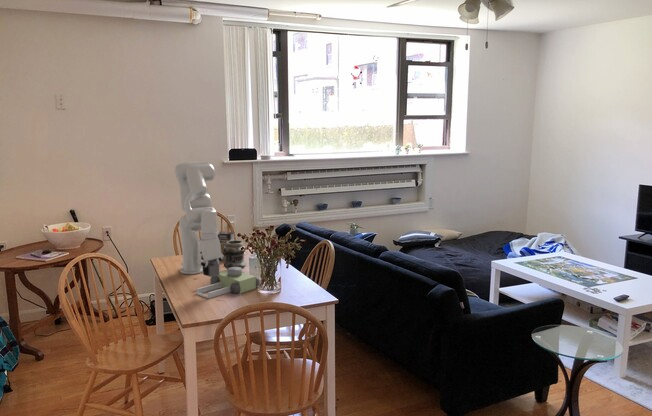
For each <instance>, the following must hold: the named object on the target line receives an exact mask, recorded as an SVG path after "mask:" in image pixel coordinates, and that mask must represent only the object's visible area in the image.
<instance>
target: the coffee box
mask: <svg viewBox="0 0 652 416" xmlns="http://www.w3.org/2000/svg"><path fill="white" fill-rule="evenodd" d="M218 232H219V235H218V238H219V241H220V246H221V253H222V254H223V255H224V257H223V258H222V259H221V261H226V253H225V252H224V247H225V246H226V244H227V241H230V240H235V232H234V231H220V230H219V231H218Z"/></svg>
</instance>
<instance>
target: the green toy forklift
mask: <svg viewBox="0 0 652 416" xmlns="http://www.w3.org/2000/svg"><path fill="white" fill-rule="evenodd" d="M242 270H243V269H242V268H240V267H230V268H228V269H225V270H221V271H220V270H219V275H216V276H213V277H210V283H211V284H208V285H206V286H202V287H198V288H196V292H195V295H198V296H201V297H202V298H206V299H211V298H212V299H213V298H214V297H218V296H221V295H224V294H228V293H233V294H234V295H235V294H241V293H242V294H243V293H245V292H249V291H252V290H254V289H257V288H258V287H259V286H260V282H261V281H260V279H259V278H258V277H257V276H255V275H252V274H248V273H246V272H244V273H242V272H243V271H242ZM206 292H207V294H205V293H206Z"/></svg>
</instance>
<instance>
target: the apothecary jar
mask: <svg viewBox="0 0 652 416" xmlns="http://www.w3.org/2000/svg"><path fill="white" fill-rule="evenodd" d="M242 247H244V248H245V247H246V246H245V245H244V242H243V241H242V240H239V239H234V240H230V241H227V244H226V246H225V247H224V252H225V253H226V260H224V262H223V267H224V268H225V270H227V269H228V268H230V267H240V268H242V270H244V269H245V268H246V266H247V261H246V260H245V252H246V250H247V249H246V250H244V252H243V251H242V250H241V248H242ZM242 273H245V271H242Z"/></svg>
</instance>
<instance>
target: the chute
mask: <svg viewBox="0 0 652 416" xmlns="http://www.w3.org/2000/svg"><path fill="white" fill-rule="evenodd" d="M207 267H208V272H209V275H208V276H207V275H204V273H203V272H202V275H204V276H205V277H209V278H211V277H213V276H216V275H219V272H220V264H218V261H216V260H210V261H208V265H207Z"/></svg>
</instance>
